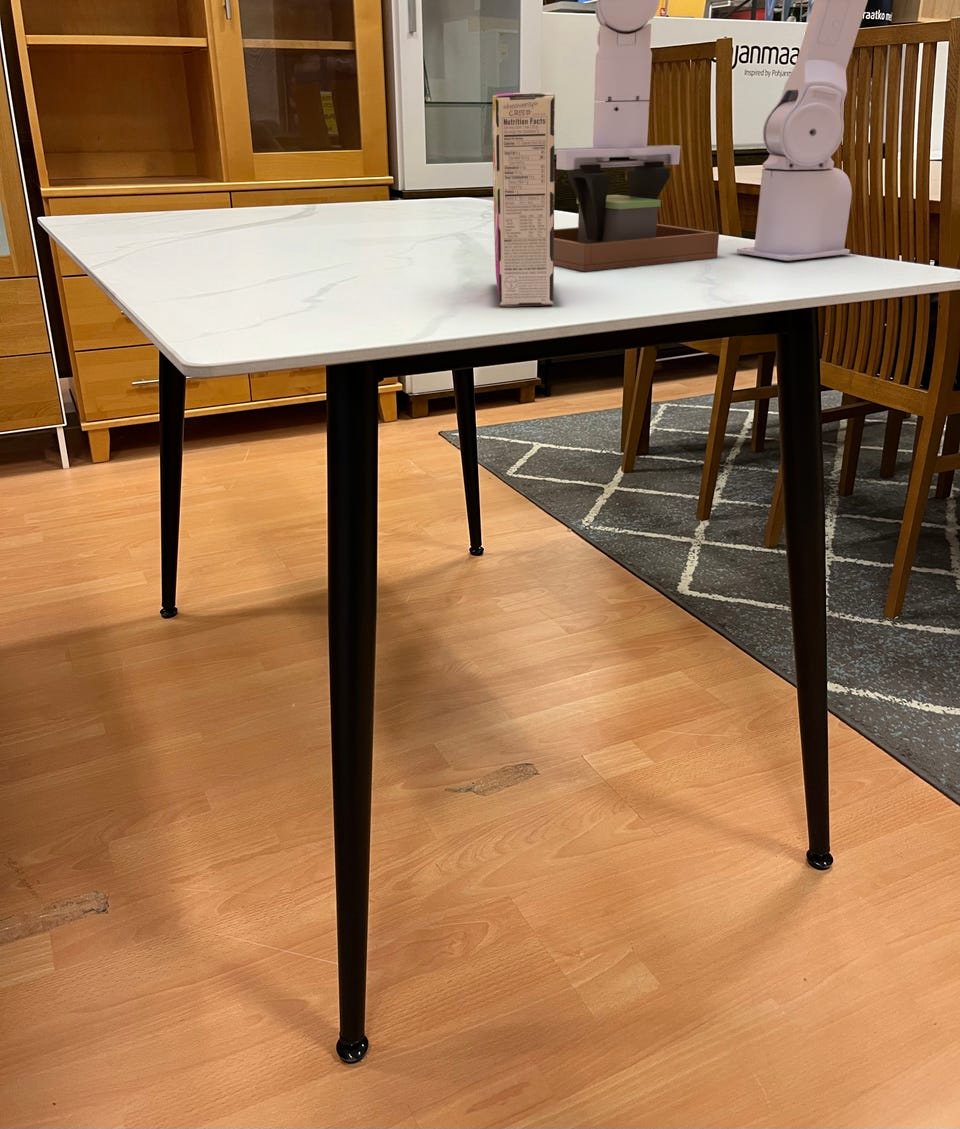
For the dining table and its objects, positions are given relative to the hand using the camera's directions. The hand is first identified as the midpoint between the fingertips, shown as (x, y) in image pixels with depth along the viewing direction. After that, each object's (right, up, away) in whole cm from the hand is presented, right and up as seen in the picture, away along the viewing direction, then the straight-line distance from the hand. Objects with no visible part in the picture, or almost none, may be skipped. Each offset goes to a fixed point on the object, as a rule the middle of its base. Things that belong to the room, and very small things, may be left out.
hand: (616, 238), depth 106 cm
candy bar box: (-11, -12, -20) cm, 26 cm away
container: (0, -1, +1) cm, 1 cm away
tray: (0, -2, +1) cm, 2 cm away
